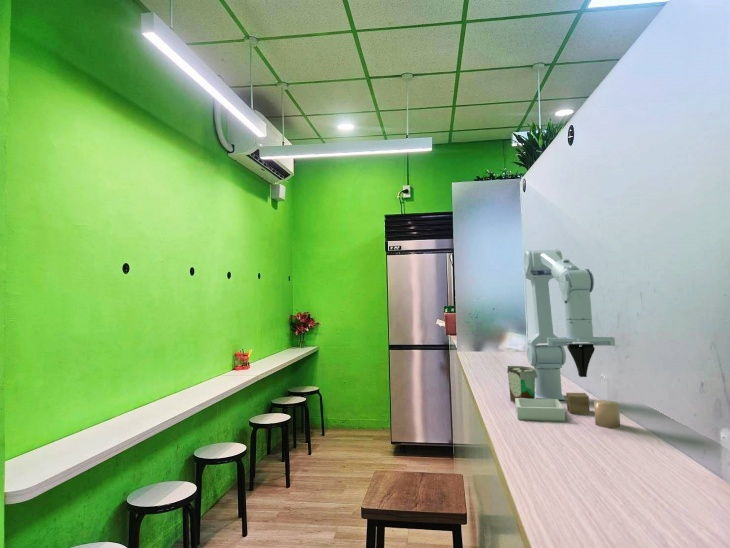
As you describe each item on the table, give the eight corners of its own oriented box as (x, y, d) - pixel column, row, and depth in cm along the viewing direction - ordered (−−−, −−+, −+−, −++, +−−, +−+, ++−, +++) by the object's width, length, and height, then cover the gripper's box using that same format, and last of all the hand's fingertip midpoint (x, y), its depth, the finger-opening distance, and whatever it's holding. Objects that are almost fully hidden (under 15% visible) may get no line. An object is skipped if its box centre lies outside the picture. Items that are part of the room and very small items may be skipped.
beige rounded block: (593, 421, 103) (591, 400, 103) (617, 422, 101) (615, 400, 102) (598, 427, 98) (596, 404, 98) (623, 428, 97) (621, 405, 97)
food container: (546, 409, 116) (544, 371, 117) (523, 410, 116) (520, 371, 117) (529, 399, 128) (527, 365, 129) (508, 400, 128) (506, 365, 129)
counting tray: (515, 409, 117) (514, 398, 117) (558, 410, 114) (557, 399, 114) (518, 419, 106) (517, 407, 107) (565, 421, 104) (564, 408, 104)
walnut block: (567, 409, 115) (566, 392, 115) (586, 410, 114) (584, 392, 114) (570, 414, 111) (569, 396, 111) (589, 414, 109) (588, 396, 110)
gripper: (548, 320, 104) (552, 378, 102) (616, 319, 100) (621, 379, 99) (544, 319, 110) (548, 374, 109) (608, 318, 106) (612, 374, 105)
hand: (582, 376), depth 104 cm, fingers closed
